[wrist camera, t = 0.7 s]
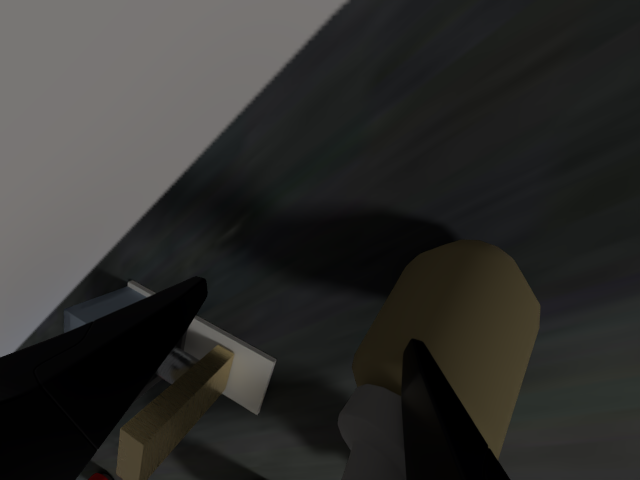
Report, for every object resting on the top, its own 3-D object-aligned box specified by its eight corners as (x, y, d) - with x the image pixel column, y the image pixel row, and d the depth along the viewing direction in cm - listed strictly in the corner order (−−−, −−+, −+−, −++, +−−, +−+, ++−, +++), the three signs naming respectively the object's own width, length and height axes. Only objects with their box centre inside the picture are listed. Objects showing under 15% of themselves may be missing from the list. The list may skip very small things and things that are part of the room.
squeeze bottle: (415, 294, 23) (268, 514, 11) (423, 215, 19) (211, 426, 8) (525, 333, 18) (458, 787, 7) (564, 238, 14) (568, 927, 3)
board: (276, 359, 28) (274, 362, 27) (259, 411, 30) (257, 415, 30) (132, 280, 33) (127, 281, 32) (127, 330, 35) (123, 332, 35)
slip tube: (234, 354, 29) (143, 445, 18) (225, 389, 30) (137, 490, 20) (160, 311, 31) (44, 371, 21) (155, 346, 33) (45, 417, 23)
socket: (157, 302, 31) (97, 330, 25) (151, 345, 33) (95, 381, 27) (127, 286, 32) (63, 309, 26) (123, 328, 35) (64, 358, 28)
